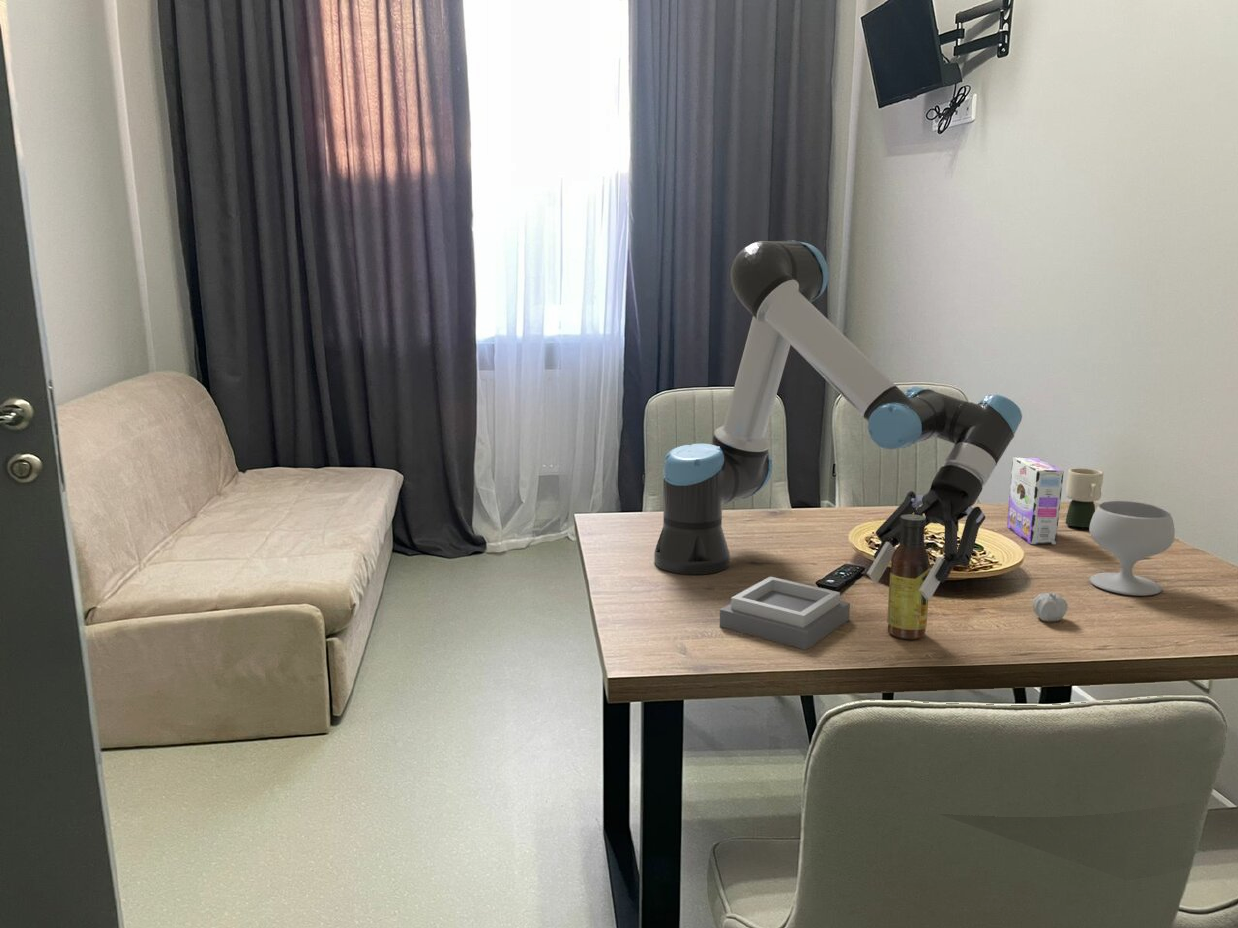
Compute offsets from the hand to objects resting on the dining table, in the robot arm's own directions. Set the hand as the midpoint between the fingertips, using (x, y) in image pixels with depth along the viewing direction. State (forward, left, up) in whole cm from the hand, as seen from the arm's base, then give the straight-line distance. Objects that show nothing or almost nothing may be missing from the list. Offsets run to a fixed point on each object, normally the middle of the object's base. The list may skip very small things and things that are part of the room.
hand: (897, 586), depth 155 cm
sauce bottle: (+1, +3, -9) cm, 10 cm away
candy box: (+2, +73, -9) cm, 74 cm away
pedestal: (-17, -5, -9) cm, 20 cm away
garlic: (+18, +24, -9) cm, 31 cm away
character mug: (+9, +87, -9) cm, 88 cm away
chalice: (+25, +50, -9) cm, 57 cm away
